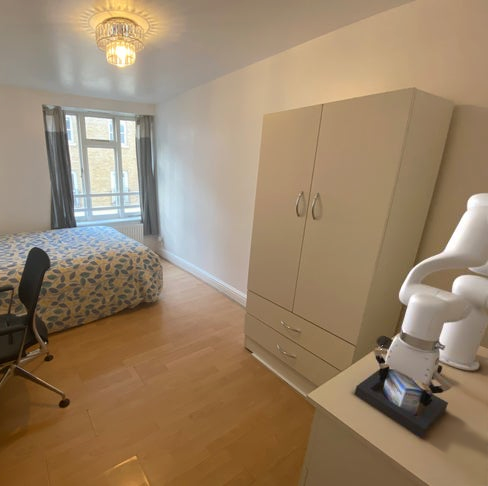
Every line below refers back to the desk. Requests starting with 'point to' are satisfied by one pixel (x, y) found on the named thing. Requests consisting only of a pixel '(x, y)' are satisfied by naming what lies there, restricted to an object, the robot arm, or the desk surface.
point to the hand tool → (387, 343)
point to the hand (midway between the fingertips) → (402, 389)
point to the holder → (395, 412)
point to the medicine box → (402, 391)
